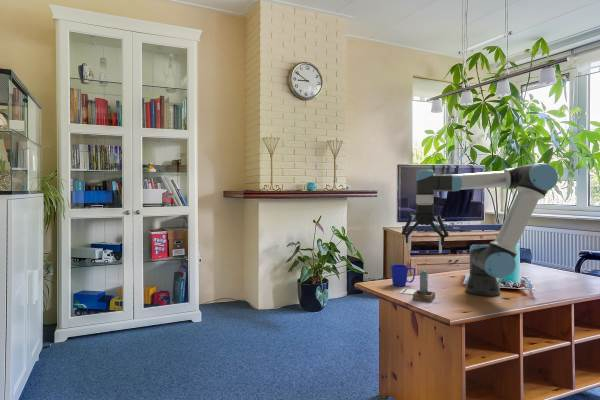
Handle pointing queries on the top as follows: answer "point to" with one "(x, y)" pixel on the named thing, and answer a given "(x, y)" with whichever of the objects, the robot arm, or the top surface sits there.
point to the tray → (424, 296)
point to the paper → (407, 291)
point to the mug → (400, 275)
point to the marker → (424, 282)
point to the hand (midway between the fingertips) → (424, 251)
